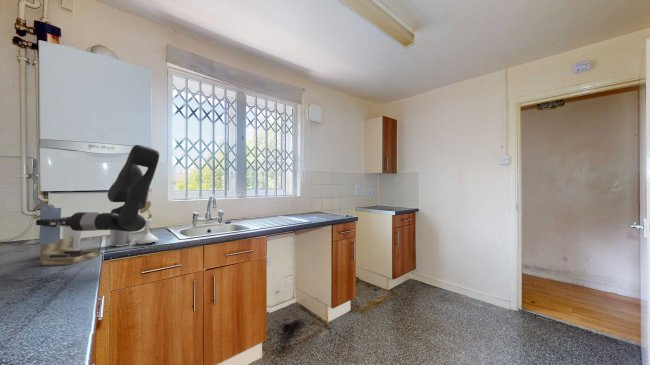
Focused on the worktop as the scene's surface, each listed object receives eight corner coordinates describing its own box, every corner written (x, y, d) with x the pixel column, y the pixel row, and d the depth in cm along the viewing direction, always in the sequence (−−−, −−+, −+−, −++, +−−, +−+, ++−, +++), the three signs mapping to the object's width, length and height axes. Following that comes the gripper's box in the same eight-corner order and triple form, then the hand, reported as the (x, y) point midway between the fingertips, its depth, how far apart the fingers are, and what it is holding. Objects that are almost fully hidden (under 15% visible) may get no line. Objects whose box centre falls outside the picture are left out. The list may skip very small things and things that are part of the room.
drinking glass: (66, 251, 126) (67, 221, 126) (83, 250, 128) (85, 220, 129) (57, 254, 119) (59, 222, 120) (76, 253, 122) (77, 222, 122)
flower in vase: (133, 243, 146) (134, 200, 147) (156, 241, 154) (157, 200, 155) (135, 247, 137) (137, 200, 138) (160, 244, 144) (161, 200, 145)
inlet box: (70, 256, 116) (71, 236, 117) (98, 255, 118) (99, 236, 118) (39, 265, 103) (40, 242, 103) (72, 264, 104) (73, 242, 104)
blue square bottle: (48, 241, 104) (50, 204, 104) (59, 241, 104) (61, 204, 105) (38, 244, 100) (40, 204, 100) (50, 243, 100) (51, 204, 101)
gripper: (102, 210, 111) (59, 210, 109) (74, 213, 97) (24, 213, 95) (102, 228, 111) (58, 228, 109) (73, 233, 96) (23, 234, 95)
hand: (42, 221), depth 102 cm, fingers closed on blue square bottle, 4 cm apart
